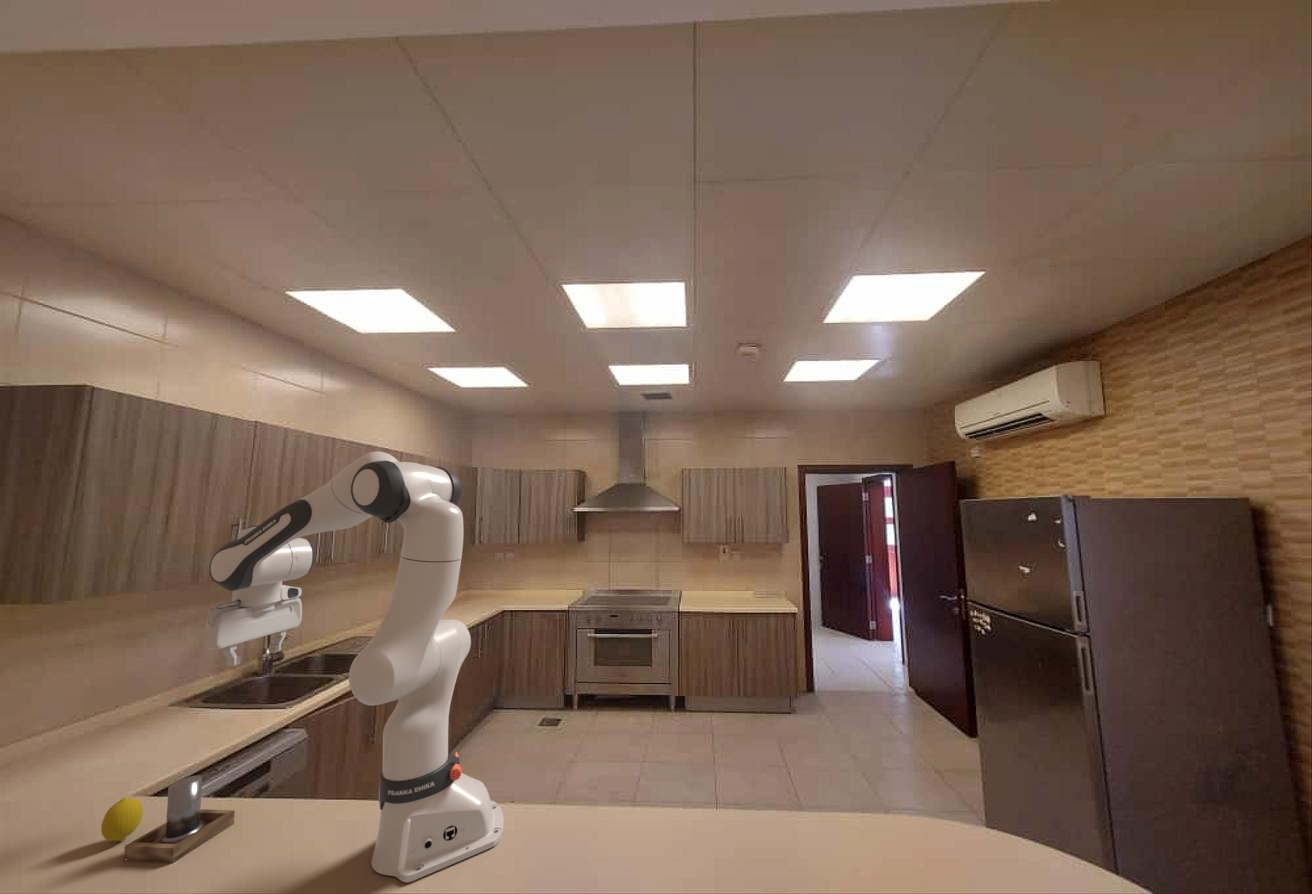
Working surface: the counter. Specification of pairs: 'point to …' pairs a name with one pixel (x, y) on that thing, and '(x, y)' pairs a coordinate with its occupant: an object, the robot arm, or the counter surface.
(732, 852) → the counter surface
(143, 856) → the tray
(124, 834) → the lemon
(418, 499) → the robot arm
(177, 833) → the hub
